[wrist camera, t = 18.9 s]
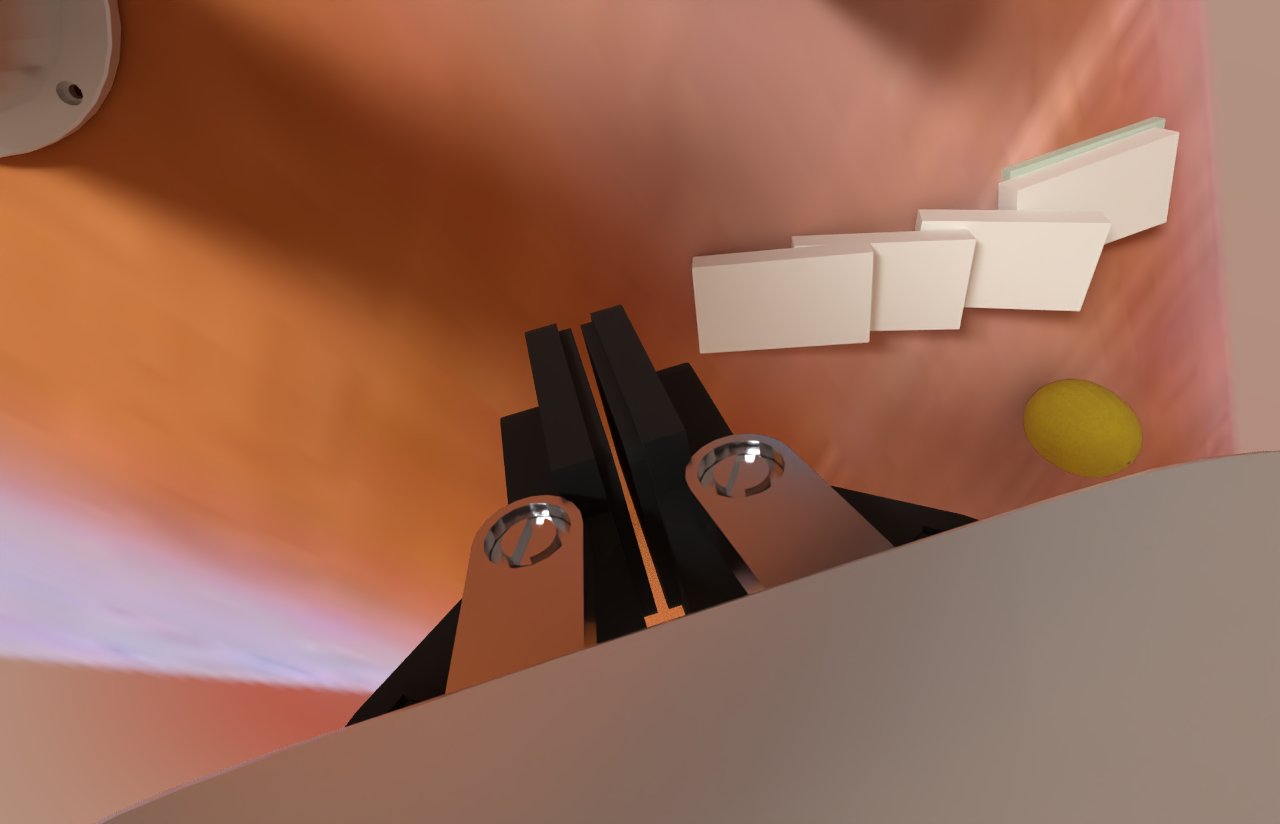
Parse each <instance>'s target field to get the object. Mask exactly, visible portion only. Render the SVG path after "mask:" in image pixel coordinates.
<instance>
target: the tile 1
mask: <svg viewBox="0 0 1280 824" xmlns="http://www.w3.org/2000/svg"><path fill="white" fill-rule="evenodd" d="M873 256H874V252H873V250H872V248H871V246H870V244H869V242H868V241H864V242H853V243H842V244H831V245H819V246H808V247H797V248H786V249H775V250H763V251H752V252H741V253H730V254H719V255H707V256H696V257H693V262H692V275H693V285H694V296H695V306H696V317H697V327H698V337H699V348H700V354H702V353H717V352H732V351H747V350H762V349H777V348H792V347H807V346H822V345H837V344H852V343H867V342H869V336H870V316H871V296H872V276H873Z"/></svg>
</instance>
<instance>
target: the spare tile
mask: <svg viewBox="0 0 1280 824" xmlns="http://www.w3.org/2000/svg"><path fill="white" fill-rule="evenodd" d="M1165 120H1166V119H1165V118H1159V117H1152V118H1149V119H1146V120H1143V121H1140V122H1138V123H1135V124H1132V125H1129V126H1126V127H1123V128H1120V129H1117V130H1114V131H1111V132H1108V133H1105V134H1102V135H1099V136H1096V137H1093V138H1090V139H1087V140H1084V141H1081V142H1079V143H1076V144H1073V145H1070V146H1067V147H1064V148H1061V149H1058V150H1055V151H1052V152H1049V153H1046V154H1043V155H1040V156H1037V157H1034V158H1031V159H1028V160H1025V161H1023V162H1020V163H1017V164H1014V165H1011V166H1008V167H1005V168H1002V182H1003V181H1006V180H1009V179H1012V178H1014V177H1017V176H1020V175H1023V174H1026V173H1028V172H1031V171H1034V170H1037V169H1039V168H1042V167H1045V166H1048V165H1051V164H1053V163H1056V162H1059V161H1062V160H1064V159H1067V158H1070V157H1073V156H1076V155H1078V154H1081V153H1084V152H1087V151H1089V150H1092V149H1095V148H1098V147H1101V146H1103V145H1106V144H1109V143H1112V142H1114V141H1117V140H1120V139H1123V138H1126V137H1128V136H1131V135H1134V134H1137V133H1139V132H1142V131H1145V130H1148V129H1151V128H1153V127H1157V128H1161V129H1164V127H1165Z"/></svg>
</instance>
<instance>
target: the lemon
mask: <svg viewBox="0 0 1280 824" xmlns="http://www.w3.org/2000/svg"><path fill="white" fill-rule="evenodd" d="M1023 425H1024V430H1025V434H1026V436H1027V438H1028V440H1029V441H1030V443H1031V444H1032V446H1033V447H1034V448H1035V450H1036V451H1037V452H1038V453H1039V454H1040V455H1041V456H1042V457H1043V458H1045V459H1046V460H1048V461H1049V462H1051V463H1052V464H1054V465H1055V466H1057V467H1059V468H1061V469H1063V470H1065V471H1067V472H1069V473H1072V474H1075V475H1079V476H1084V477H1104V476H1108V475H1112V474H1115V473H1117V472H1119V471H1121V470H1123V469H1125V468H1126V467H1128V466H1130V465H1131V464H1132V463H1133V461H1134V460H1135V458H1136V457H1137V455H1138V453H1139V451H1140V449H1141V446H1142V439H1143V432H1142V428H1141V425H1140V422H1139V420H1138V418H1137V416H1136V415H1135V413H1134V412H1133V411H1132V410H1131V409H1130V407H1129V406H1128V405H1127V404H1126V403H1125V402H1124V401H1123V400H1122V399H1121V398H1120V397H1119V396H1117V395H1116V394H1115V393H1113V392H1112V391H1110V390H1108V389H1106V388H1104V387H1102V386H1100V385H1098V384H1096V383H1093V382H1090V381H1085V380H1077V379H1066V380H1059V381H1055V382H1053V383H1050V384H1047V385H1045V386H1044V387H1042V388H1040V389H1039V390H1038V391H1037V392H1036V393H1034V395H1033V396H1032V397H1031V398H1030V400H1029V401H1028V403H1027V405H1026V407H1025V410H1024V415H1023Z"/></svg>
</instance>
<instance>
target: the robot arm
mask: <svg viewBox="0 0 1280 824" xmlns="http://www.w3.org/2000/svg"><path fill="white" fill-rule="evenodd" d="M120 44H121V23H120V16H119V9H118V3H117V0H0V158H1V157H6V156H12V155H18V154H23V153H29V152H32V151H35V150H38V149H41V148H44V147H46V146H49V145H52V144H55V143H56V142H58V141H60V140H62V139H63V138H65V137H67V136H69V135H71V134H72V133H74V132H76V131H78V130H79V129H80V128H81V127H82V126H83V125H84V124H85V123H86V122H87V121H88V120H89V119H90V118H91V117H92V116H93V115H94V114H95V113H97V112H98V110H99V108H100V107H101V105H102V103H103V102H104V100H105V98H106V97H107V95H108V93H109V91H110V90H111V88H112V85H113V81H114V78H115V74H116V71H117V67H118V64H119V60H120ZM75 84H76V85H77V86H78V87H79V89H80V90H81V92H82V94H83V97H80V96H78V95H77V94H76V92H75V90H74V86H75ZM590 315H591V320H592V322H590V323H587V324H583V325H581V329H582V333H583V336H584V340H585V343H586V347H587V351H588V354H589V358H590V361H591V365H592V368H593V372H594V375H595V379H596V382H597V386H598V389H599V393H600V396H601V400H602V403H603V407H604V411H605V414H606V418H607V421H608V425H609V428H610V432H611V435H612V439H613V442H614V446H615V449H616V453H617V456H618V459H619V463H620V466H621V469H622V472H623V475H624V478H625V481H626V484H627V487H628V490H629V493H630V496H631V499H632V502H633V505H634V508H635V511H636V514H637V516H638V519H639V522H640V525H641V528H642V531H643V534H644V537H645V540H646V543H647V546H648V549H649V552H650V555H651V558H652V561H653V564H654V567H655V570H656V573H657V576H658V579H659V582H660V585H661V588H662V590H663V593H664V596H665V599H666V602H667V605H668V608H669V609H671V608H674V607H677V606H680V605H682V607H683V609H684V612H685V615H684V616H681V617H678V618H675V619H672V620H669V621H666V622H663V623H660V624H657V625H654V626H651V627H648V628H647V626H646V622H645V619H644V617H646V616H649V615H652V614H655V613H658V612H657V608H656V605H655V601H654V598H653V594H652V591H651V587H650V584H649V580H648V577H647V573H646V570H645V566H644V563H643V560H642V556H641V553H640V549H639V546H638V542H637V539H636V535H635V532H634V528H633V525H632V521H631V518H630V514H629V511H628V507H627V504H626V501H625V497H624V494H623V490H622V487H621V483H620V480H619V476H618V473H617V469H616V466H615V463H614V459H613V456H612V453H611V450H610V446H609V443H608V440H607V437H606V434H605V431H604V428H603V425H602V422H601V419H600V416H599V413H598V410H597V407H596V404H595V401H594V398H593V395H592V392H591V388H590V385H589V382H588V379H587V376H586V373H585V370H584V367H583V364H582V361H581V358H580V355H579V352H578V349H577V346H576V343H575V340H574V337H573V334H572V331H571V328H569V329H566V330H562V331H559V332H558V329H557V325H556V324H552V325H549V326H545V327H542V328H538V329H535V330H531V331H528V332H525V337H526V342H527V347H528V353H529V358H530V363H531V368H532V373H533V379H534V384H535V389H536V394H537V400H538V405H539V407H535V408H532V409H529V410H525V411H522V412H519V413H515V414H512V415H508V416H505V417H502V418H501V419H500V424H501V434H502V445H503V455H504V465H505V476H506V486H507V497H508V505H507V506H505V507H503V508H502V509H500V510H498V511H497V512H496V513H495V514H493V515H492V516H491V517H490V518H488V519H487V520H486V521H485V523H484V524H483V525H482V526H481V528H480V529H479V530H478V532H477V533H476V536H475V539H474V541H473V544H472V548H471V554H470V559H469V565H468V570H467V576H466V581H465V587H464V592H463V598H462V599H461V600H460V601H459V602H458V603H457V604H456V605H455V606H454V607H453V608H452V610H451V611H450V612H449V613H448V614H447V615H446V616H445V617H444V618H443V619H442V620H441V621H440V622H439V624H438V625H437V626H436V627H435V628H434V629H433V630H432V631H431V632H430V633H429V634H428V635H427V636H426V637H425V639H424V640H423V641H422V642H421V643H420V644H419V645H418V646H417V647H416V648H415V649H414V650H413V651H412V653H411V654H410V655H409V656H408V657H407V658H406V659H405V660H404V661H403V662H402V663H401V664H400V665H399V667H398V668H397V669H396V670H395V671H394V672H393V673H392V674H391V675H390V676H389V677H388V678H387V679H386V681H385V682H384V683H383V684H382V685H381V686H380V687H379V688H378V689H377V690H376V691H375V692H374V693H373V694H372V696H371V697H370V698H369V699H368V700H367V701H366V702H365V703H364V704H363V705H362V706H361V707H360V709H359V710H358V711H357V712H356V713H355V714H354V716H353V717H352V718H351V720H350V721H349V722H348V724H347V725H346V726H345V727H344V728H341V729H338V730H335V731H333V732H329V733H326V734H323V735H320V736H317V737H314V738H311V739H308V740H305V741H302V742H299V743H296V744H293V745H290V746H287V747H284V748H281V749H278V750H275V751H273V752H270V753H267V754H264V755H262V756H259V757H256V758H253V759H251V760H248V761H245V762H242V763H240V764H237V765H234V766H231V767H229V768H226V769H223V770H220V771H218V772H215V773H212V774H209V775H207V776H204V777H201V778H198V779H196V780H193V781H191V782H187V783H185V784H182V785H179V786H176V787H174V788H171V789H168V790H166V791H164V792H162V793H159V794H157V795H155V796H152V797H150V798H148V799H145V800H143V801H141V802H139V803H136V804H134V805H132V806H130V807H127V808H125V809H123V810H120V811H118V812H116V813H114V814H111V815H109V816H108V817H106V818H104V819H102V820H100V821H98V822H96V823H94V824H1280V451H1260V452H1250V453H1242V454H1234V455H1226V456H1218V457H1210V458H1202V459H1196V460H1191V461H1186V462H1182V463H1177V464H1172V465H1167V466H1162V467H1158V468H1153V469H1149V470H1145V471H1142V472H1138V473H1135V474H1131V475H1128V476H1124V477H1121V478H1117V479H1114V480H1110V481H1107V482H1103V483H1100V484H1096V485H1093V486H1089V487H1085V488H1082V489H1078V490H1075V491H1071V492H1068V493H1064V494H1061V495H1057V496H1054V497H1051V498H1048V499H1045V500H1042V501H1039V502H1036V503H1032V504H1029V505H1026V506H1023V507H1020V508H1017V509H1014V510H1011V511H1007V512H1004V513H1001V514H998V515H995V516H992V517H989V518H986V519H982V520H977V519H974V518H971V517H968V516H965V515H961V514H957V513H952V512H948V511H943V510H938V509H934V508H929V507H925V506H920V505H916V504H911V503H907V502H902V501H898V500H893V499H889V498H884V497H879V496H875V495H870V494H866V493H861V492H857V491H852V490H848V489H843V488H839V487H834V486H830V485H829V484H828V483H827V482H826V481H824V480H823V479H822V478H821V477H820V476H819V475H818V474H817V473H816V472H815V471H814V470H813V469H812V468H811V467H810V466H809V465H808V464H807V463H805V462H804V461H803V460H802V459H801V458H800V457H799V456H798V455H797V454H796V453H795V452H794V451H793V450H792V449H791V448H790V447H788V446H787V445H785V444H784V443H782V442H781V441H779V440H778V439H775V438H772V437H769V436H765V435H759V434H748V433H747V434H737V435H733V434H732V432H731V430H730V429H729V427H728V425H727V424H726V422H725V421H724V419H723V417H722V416H721V414H720V412H719V411H718V409H717V408H716V406H715V404H714V403H713V401H712V399H711V398H710V396H709V394H708V393H707V391H706V390H705V388H704V386H703V385H702V383H701V381H700V380H699V378H698V377H697V375H696V373H695V372H694V370H693V368H692V367H691V365H690V364H689V363H683V364H680V365H677V366H673V367H670V368H666V369H663V370H660V371H655V369H654V367H653V365H652V363H651V361H650V359H649V357H648V355H647V353H646V352H645V350H644V348H643V346H642V344H641V342H640V340H639V338H638V336H637V334H636V332H635V330H634V328H633V326H632V324H631V322H630V320H629V318H628V316H627V314H626V312H625V311H624V309H623V307H622V305H618V306H615V307H611V308H608V309H604V310H601V311H597V312H594V313H591V314H590Z"/></svg>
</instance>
